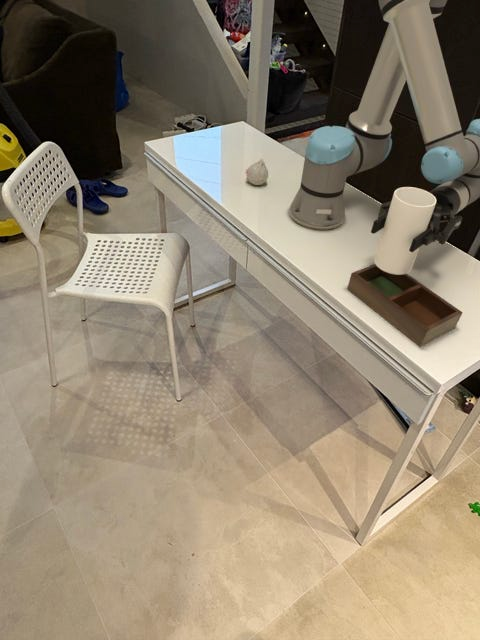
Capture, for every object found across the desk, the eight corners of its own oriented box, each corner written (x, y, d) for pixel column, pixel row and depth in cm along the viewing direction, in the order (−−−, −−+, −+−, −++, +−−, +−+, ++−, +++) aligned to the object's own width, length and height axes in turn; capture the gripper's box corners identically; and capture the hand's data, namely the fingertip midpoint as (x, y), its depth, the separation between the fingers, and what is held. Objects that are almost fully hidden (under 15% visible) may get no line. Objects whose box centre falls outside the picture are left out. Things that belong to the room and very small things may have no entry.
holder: (381, 274, 119) (386, 259, 116) (455, 328, 106) (462, 312, 103) (346, 289, 113) (351, 273, 110) (420, 347, 100) (427, 330, 97)
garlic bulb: (246, 177, 153) (248, 152, 147) (268, 180, 152) (271, 155, 147) (243, 186, 148) (245, 161, 142) (265, 190, 147) (268, 164, 142)
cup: (406, 279, 103) (431, 211, 92) (369, 266, 105) (388, 198, 95) (416, 261, 108) (440, 194, 97) (380, 248, 111) (400, 183, 100)
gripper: (482, 235, 108) (434, 275, 96) (398, 199, 119) (345, 231, 106) (496, 204, 104) (447, 242, 91) (408, 170, 114) (353, 199, 101)
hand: (392, 236), depth 98 cm, fingers closed on cup, 8 cm apart
